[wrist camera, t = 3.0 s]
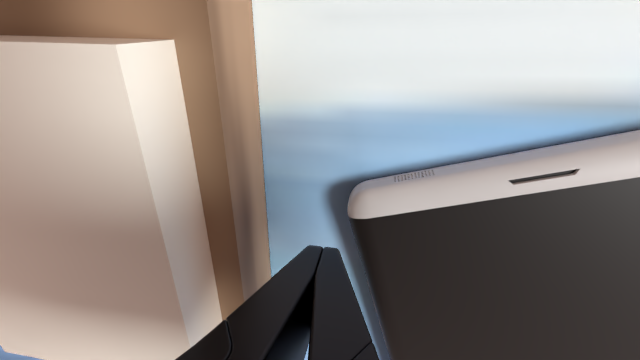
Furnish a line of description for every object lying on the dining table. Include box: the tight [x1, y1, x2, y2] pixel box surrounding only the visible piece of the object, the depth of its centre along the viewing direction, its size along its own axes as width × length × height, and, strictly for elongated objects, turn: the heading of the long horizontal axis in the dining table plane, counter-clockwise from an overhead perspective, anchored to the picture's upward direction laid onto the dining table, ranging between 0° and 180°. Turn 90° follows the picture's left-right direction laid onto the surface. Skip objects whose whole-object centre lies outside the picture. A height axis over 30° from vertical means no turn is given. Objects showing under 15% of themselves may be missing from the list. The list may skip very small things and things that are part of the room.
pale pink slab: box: [0, 35, 222, 360], centre depth 10 cm, size 11×8×2 cm
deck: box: [0, 0, 271, 321], centre depth 12 cm, size 10×20×3 cm, turn 179°
